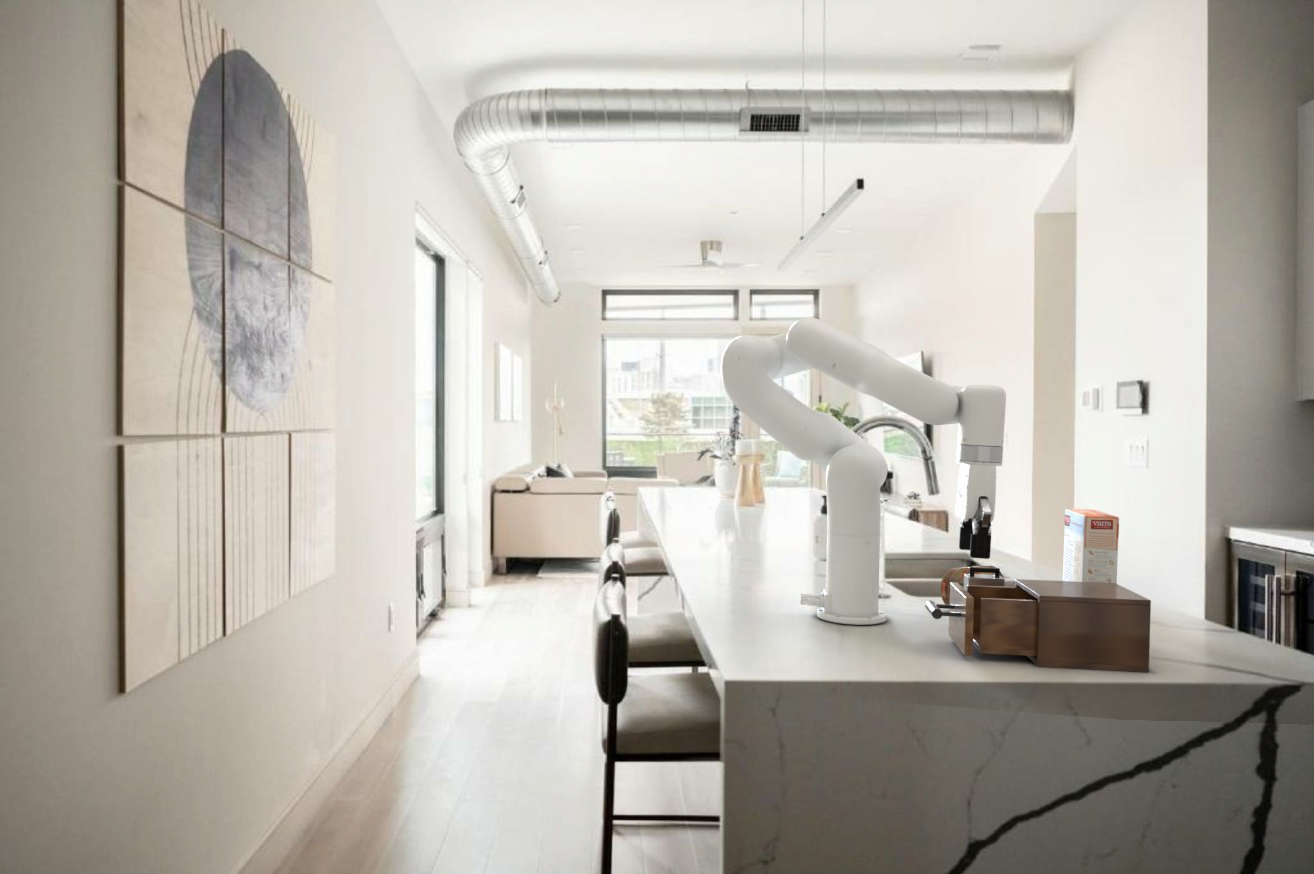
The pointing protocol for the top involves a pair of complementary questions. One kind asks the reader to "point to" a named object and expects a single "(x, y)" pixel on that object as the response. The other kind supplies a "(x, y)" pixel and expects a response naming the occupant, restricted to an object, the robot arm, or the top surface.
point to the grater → (983, 577)
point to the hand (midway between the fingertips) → (973, 553)
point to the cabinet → (1090, 625)
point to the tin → (957, 580)
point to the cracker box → (1090, 546)
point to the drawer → (990, 619)
